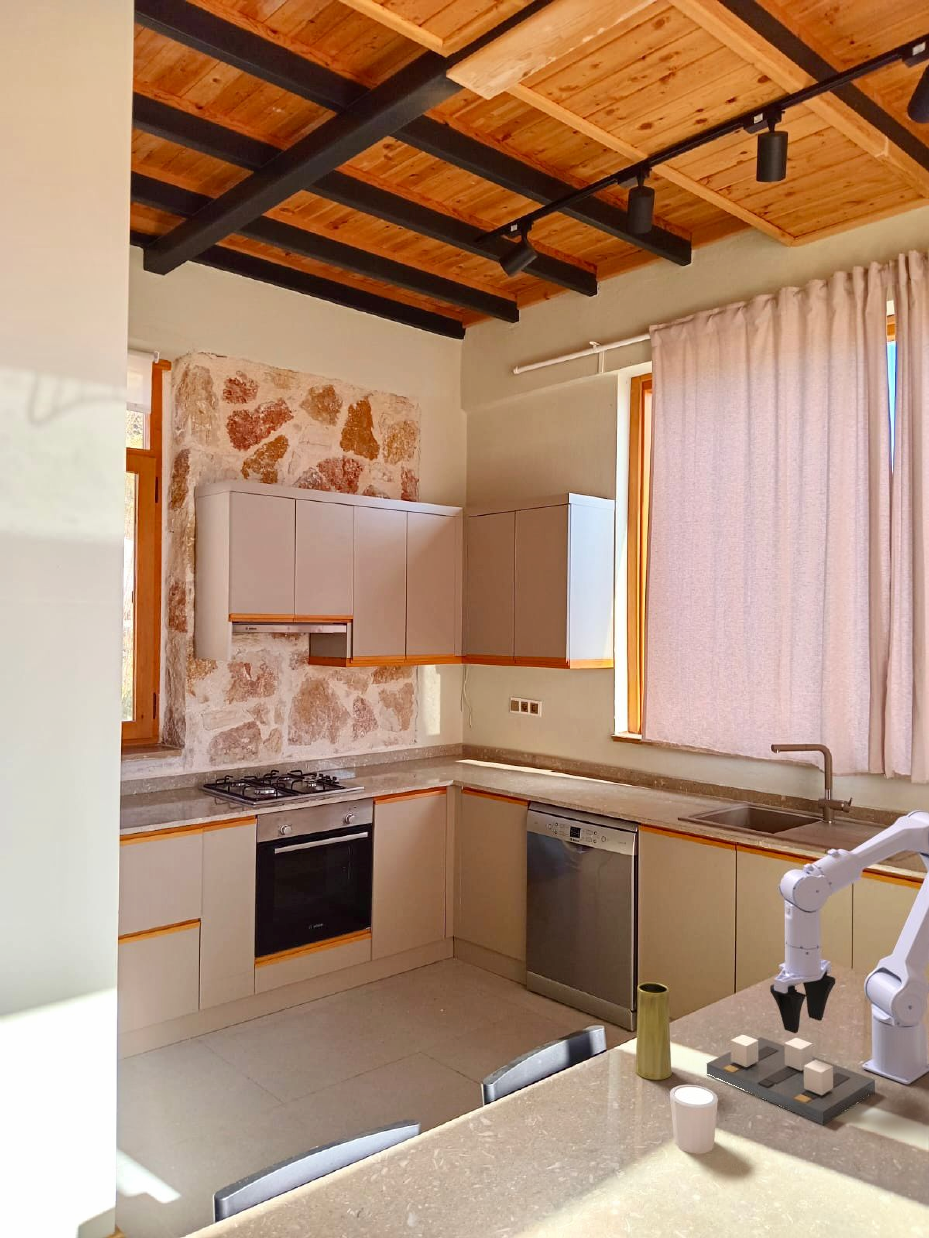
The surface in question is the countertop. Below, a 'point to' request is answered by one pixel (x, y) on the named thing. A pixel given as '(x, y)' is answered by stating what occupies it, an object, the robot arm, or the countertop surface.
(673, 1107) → the white cup
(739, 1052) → the switch
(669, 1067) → the vase
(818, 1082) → the switch
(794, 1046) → the switch
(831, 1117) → the console
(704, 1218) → the countertop surface
